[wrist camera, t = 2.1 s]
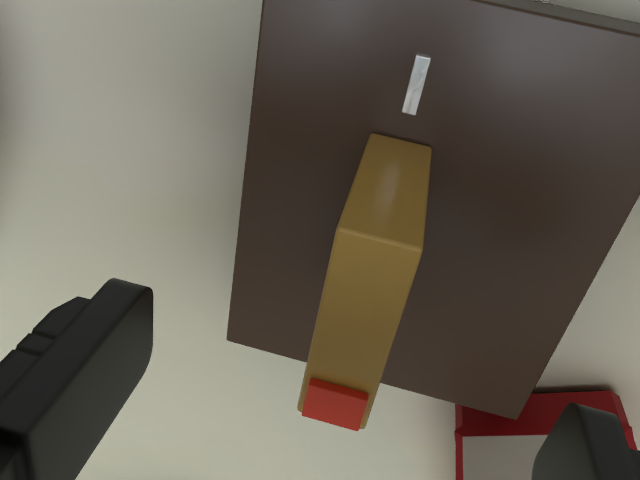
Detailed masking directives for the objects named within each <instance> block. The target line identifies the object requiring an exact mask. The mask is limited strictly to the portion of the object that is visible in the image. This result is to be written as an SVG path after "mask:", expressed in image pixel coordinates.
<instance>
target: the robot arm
mask: <svg viewBox="0 0 640 480" xmlns="http://www.w3.org/2000/svg"><path fill="white" fill-rule="evenodd" d="M152 347H153V291H152V289H151V288H149V287H146V286H142V285H139V284H135V283H131V282H127V281H124V280H120V279H116V278H112V279H110V280H108V281H107V282H106V283H105V284H104V285H103V286H102V287H101V289H100V290H99V291H98V292H97V293H96V294H95V295H94V296H93V297H92V298H91V300H90V299H86V298H82V297H79V296H78V297H76V298H74V299H72V300H70V301H68V302H66V303H64V304H62V305H61V306H59V307H57V308H55V309H53V310H51V311H50V312H49V313H48V314H47V315H46V316H45V317H44V318H43V319H42V320H41V321H40V322H39V323H38V324H37V325H36V326H35V327H34V328H33V331H32V333H31V334H30V333H29V334H28V335H27V336H26V337H25V338H24V339H23V340H22V341H21V342H20V343H19V344H18V345H17V348H16V349H15V350H12V351H11V352H10V353H9V354H8V355H7V356H6V357H5V358H4V359H3V360H2V361H1V362H0V480H75V479H76V477H77V476H78V474H79V473H80V471H81V469H82V468H83V466H84V465H85V463H86V462H87V460H88V459H89V457H90V456H91V454H92V453H93V451H94V450H95V448H96V447H97V445H98V444H99V442H100V440H101V439H102V437H103V436H104V434H105V433H106V431H107V430H108V428H109V427H110V425H111V424H112V422H113V421H114V419H115V418H116V416H117V415H118V413H119V411H120V410H121V408H122V407H123V405H124V404H125V402H126V401H127V399H128V398H129V396H130V395H131V393H132V392H133V390H134V389H135V387H136V386H137V384H138V382H139V381H140V379H141V378H142V376H143V375H144V373H145V371H146V368H147V366H148V363H149V360H150V357H151V353H152ZM531 480H640V451H638V450H634V449H630V448H629V446H628V443H627V440H626V437H625V434H624V431H623V428H622V425H621V422H620V420H619V418H618V417H617V416H616V415H615V414H614V413H610V412H606V411H603V410H599V409H595V408H592V407H588V406H584V405H580V404H577V403H569V404H567V406H566V407H565V408H564V409H563V411H562V413H561V414H560V416H559V418H558V419H557V421H556V423H555V424H554V426H553V428H552V429H551V431H550V433H549V434H548V436H547V438H546V439H545V441H544V443H543V444H542V446H541V448H540V450H539V451H538V453H537V455H536V458H535V461H534V464H533V469H532V477H531Z"/></svg>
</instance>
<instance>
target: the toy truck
mask: <svg viewBox="0 0 640 480" xmlns="http://www.w3.org/2000/svg"><path fill="white" fill-rule="evenodd" d="M569 403H577V404H580V405H584V406H588V407H592V408H595V409H599V410H603V411H606V412H610V413H614V414H615V415H616V416H617V417H618V418H619V420H620V422H621V425H622V428H623V431H624V434H625V437H626V440H627V443H628V446H629V448H630V449H634V450H637V447H636V444H635V441H634V437H633V432H632V427H631V426H629V423H628V420H627V417H626V414H625V411H624V409H623V406H622V403H621V400H620V397H619V396H618V395H617V394H615V393H613V392H612V391H589V392H565V393H541V394H531V395H530V397H529V399H528V400H527V402H526V404H525V406H524V408H523V410H522V411H521V413H520V415H519V417H518V419H517V420H514V419H510V418H506V417H503V416H499V415H495V414H492V413H488V412H485V411H481V410H477V409H474V408H470V407H466V406H463V405H459V404H456V403H455V416H456V431H454V432H455V441H456V480H531V477H532V469H533V464H534V461H535V458H536V455H537V453H538V451H539V450H540V448H541V446H542V444H543V443H544V441H545V439H546V438H547V436H548V434H549V433H550V431H551V429H552V428H553V426H554V424H555V423H556V421H557V419H558V418H559V416H560V414H561V413H562V411H563V409H564V408H565V407H566V406H567V404H569Z"/></svg>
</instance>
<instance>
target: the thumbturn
mask: <svg viewBox="0 0 640 480" xmlns="http://www.w3.org/2000/svg"><path fill="white" fill-rule="evenodd" d="M431 152H432V149H431V148H430V147H428V146H424V145H420V144H416V143H412V142H407V141H403V140H399V139H395V138H391V137H387V136H382V135H378V134H374V133H372V134H371V135H370V136H369V139H368V142H367V145H366V148H365V150H364V153H363V156H362V159H361V162H360V164H359V167H358V170H357V173H356V175H355V178H354V181H353V184H352V187H351V189H350V192H349V195H348V198H347V201H346V203H345V206H344V209H343V212H342V215H341V217H340V220H339V223H338V226H337V229H336V233H335V238H334V242H333V247H332V251H331V256H330V260H329V265H328V269H327V274H326V279H325V283H324V288H323V292H322V297H321V301H320V306H319V310H318V315H317V319H316V324H315V329H314V333H313V338H312V342H311V347H310V351H309V356H308V360H307V365H306V370H305V374H304V379H303V383H302V388H301V392H300V397H299V401H298V406H297V408H298V410H299V411H300V412H302V416H305V417H309V418H312V419H316V420H319V421H323V422H326V423H330V424H333V425H337V426H340V427H344V428H347V429H351V430H355V431H358V430H359V428H360V429H364V428H365V426H366V423H367V420H368V417H369V414H370V411H371V408H372V405H373V402H374V399H375V396H376V393H377V390H378V387H379V384H380V381H381V378H382V375H383V371H384V368H385V365H386V362H387V359H388V356H389V353H390V350H391V347H392V344H393V341H394V338H395V335H396V332H397V329H398V326H399V323H400V319H401V316H402V313H403V310H404V307H405V304H406V301H407V298H408V295H409V292H410V289H411V286H412V283H413V280H414V277H415V274H416V271H417V267H418V264H419V261H420V258H421V255H422V252H423V244H424V232H425V221H426V209H427V198H428V187H429V175H430V164H431Z"/></svg>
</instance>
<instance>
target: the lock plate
mask: <svg viewBox="0 0 640 480" xmlns="http://www.w3.org/2000/svg"><path fill="white" fill-rule="evenodd" d="M372 133H374V134H378V135H382V136H387V137H391V138H395V139H399V140H403V141H407V142H412V143H416V144H420V145H424V146H428V147H430V148H431V149H432V152H431V164H430V175H429V187H428V198H427V209H426V221H425V232H424V244H423V252H422V255H421V258H420V261H419V264H418V267H417V271H416V274H415V277H414V280H413V283H412V286H411V289H410V292H409V295H408V298H407V301H406V304H405V307H404V310H403V313H402V316H401V319H400V323H399V326H398V329H397V332H396V335H395V338H394V341H393V344H392V347H391V350H390V353H389V356H388V359H387V362H386V365H385V368H384V371H383V375H382V378H381V381H380V383H383V384H387V385H390V386H394V387H398V388H401V389H405V390H408V391H412V392H416V393H419V394H423V395H427V396H430V397H434V398H437V399H441V400H445V401H448V402H452V403H456V404H459V405H463V406H466V407H470V408H474V409H477V410H481V411H485V412H488V413H492V414H495V415H499V416H503V417H506V418H510V419H514V420H517V419H518V417H519V415H520V413H521V411H522V410H523V408H524V406H525V404H526V402H527V400H528V399H529V397H530V395H531V393H532V391H533V389H534V388H535V386H536V384H537V382H538V380H539V378H540V377H541V375H542V373H543V371H544V369H545V367H546V366H547V364H548V362H549V360H550V358H551V356H552V355H553V353H554V351H555V349H556V347H557V345H558V344H559V342H560V340H561V338H562V336H563V334H564V333H565V331H566V329H567V327H568V325H569V323H570V322H571V320H572V318H573V316H574V314H575V312H576V311H577V309H578V307H579V305H580V303H581V301H582V300H583V298H584V296H585V294H586V292H587V290H588V289H589V287H590V285H591V283H592V281H593V279H594V278H595V276H596V274H597V272H598V270H599V268H600V267H601V265H602V263H603V261H604V259H605V257H606V256H607V254H608V252H609V250H610V248H611V246H612V245H613V243H614V241H615V239H616V237H617V235H618V234H619V232H620V230H621V228H622V226H623V224H624V223H625V221H626V219H627V217H628V215H629V213H630V212H631V210H632V208H633V206H634V204H635V202H636V201H637V199H638V197H639V195H640V23H635V22H631V21H626V20H621V19H617V18H612V17H607V16H603V15H598V14H593V13H589V12H584V11H580V10H575V9H570V8H566V7H561V6H556V5H552V4H547V3H542V2H538V1H533V0H263V3H262V13H261V22H260V31H259V41H258V50H257V59H256V69H255V78H254V87H253V97H252V106H251V115H250V125H249V134H248V143H247V152H246V162H245V171H244V180H243V190H242V199H241V208H240V218H239V227H238V236H237V246H236V255H235V264H234V274H233V283H232V292H231V302H230V311H229V320H228V330H227V340H228V341H231V342H234V343H238V344H242V345H245V346H249V347H253V348H256V349H260V350H263V351H267V352H271V353H274V354H278V355H282V356H285V357H289V358H292V359H296V360H300V361H303V362H307V360H308V356H309V351H310V347H311V342H312V338H313V333H314V329H315V324H316V319H317V315H318V310H319V306H320V301H321V297H322V292H323V288H324V283H325V279H326V274H327V269H328V265H329V260H330V256H331V251H332V247H333V242H334V238H335V233H336V229H337V226H338V223H339V220H340V217H341V215H342V212H343V209H344V206H345V203H346V201H347V198H348V195H349V192H350V189H351V187H352V184H353V181H354V178H355V175H356V173H357V170H358V167H359V164H360V162H361V159H362V156H363V153H364V150H365V148H366V145H367V142H368V139H369V136H370V135H371V134H372Z"/></svg>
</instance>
